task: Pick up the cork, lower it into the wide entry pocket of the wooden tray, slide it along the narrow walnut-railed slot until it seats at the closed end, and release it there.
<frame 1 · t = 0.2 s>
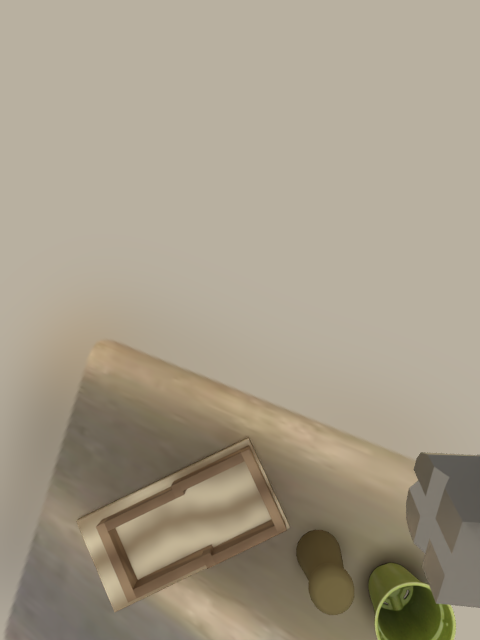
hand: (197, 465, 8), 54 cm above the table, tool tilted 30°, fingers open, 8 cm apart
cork: (318, 551, 60), on the table
plant pot: (390, 584, 59), on the table
wooden tray: (183, 521, 60), on the table
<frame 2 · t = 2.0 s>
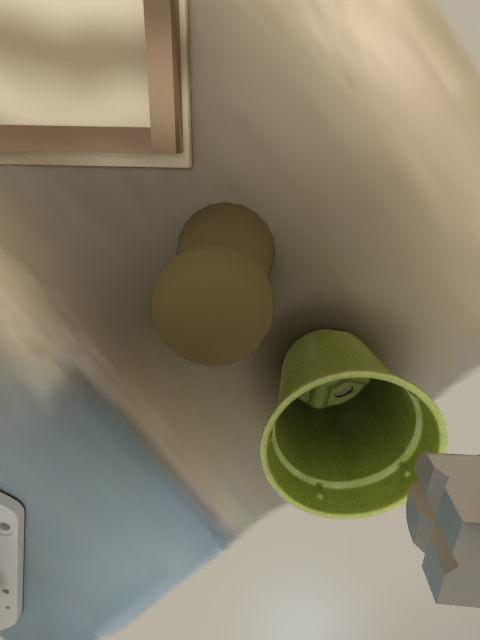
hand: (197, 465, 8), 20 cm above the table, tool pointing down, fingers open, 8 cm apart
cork: (226, 251, 27), on the table
plant pot: (326, 366, 30), on the table
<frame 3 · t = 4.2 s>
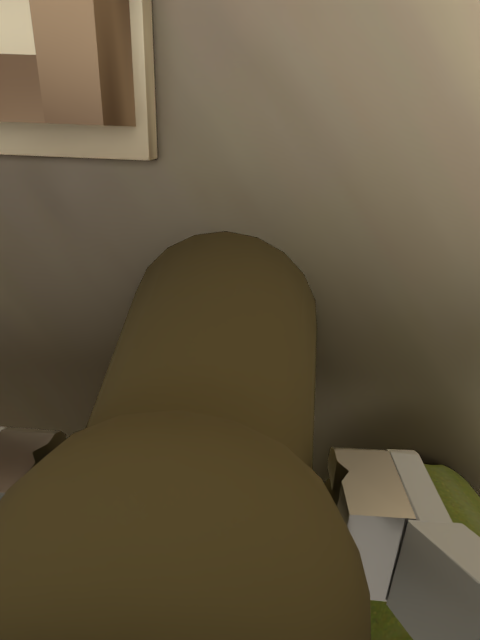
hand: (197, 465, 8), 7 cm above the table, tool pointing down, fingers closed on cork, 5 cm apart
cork: (224, 320, 14), on the table, touching gripper
plant pot: (394, 511, 18), on the table
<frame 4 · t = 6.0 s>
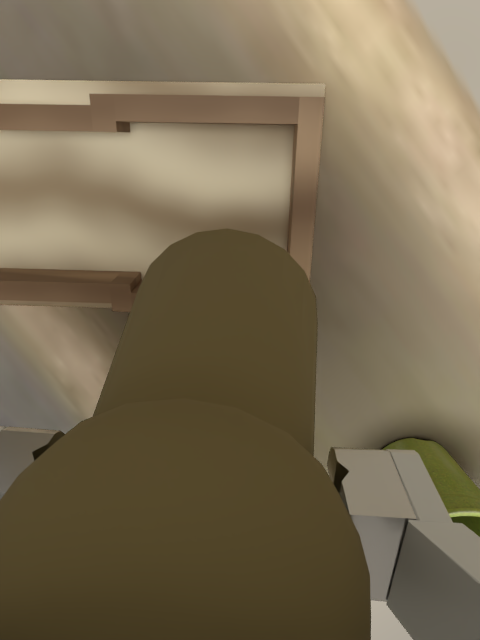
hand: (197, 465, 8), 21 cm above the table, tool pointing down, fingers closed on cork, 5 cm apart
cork: (226, 317, 15), point 14 cm above the table, touching gripper
plant pot: (409, 466, 34), on the table
wooden tray: (99, 202, 27), on the table
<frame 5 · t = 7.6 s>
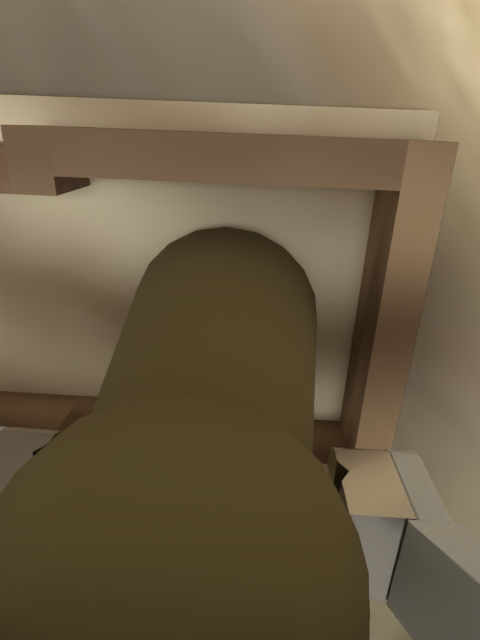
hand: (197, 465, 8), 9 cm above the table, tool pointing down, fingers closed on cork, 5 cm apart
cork: (225, 315, 15), point 2 cm above the table, touching gripper
wooden tray: (45, 289, 17), on the table
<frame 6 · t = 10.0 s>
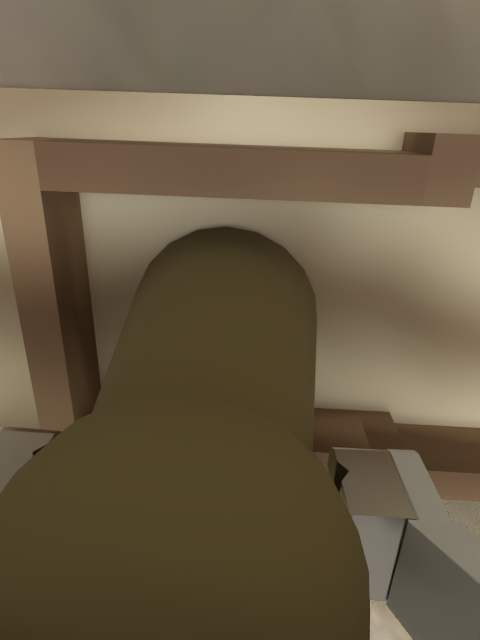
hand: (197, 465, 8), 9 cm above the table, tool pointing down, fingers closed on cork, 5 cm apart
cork: (225, 315, 15), point 2 cm above the table, touching gripper
wooden tray: (331, 300, 16), on the table
when the fingers open (8 cm above the table, at t = 11.4 s): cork stays where it is, resting on wooden tray.
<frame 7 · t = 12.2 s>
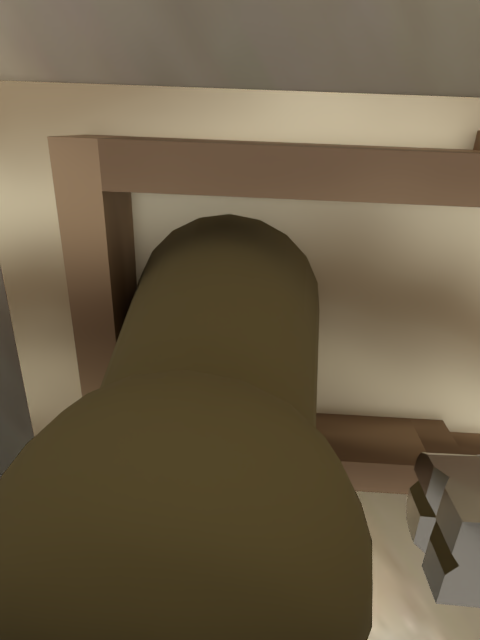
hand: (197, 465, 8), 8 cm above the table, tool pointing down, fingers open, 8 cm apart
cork: (228, 303, 15), point 1 cm above the table, touching wooden tray
wooden tray: (385, 305, 15), on the table
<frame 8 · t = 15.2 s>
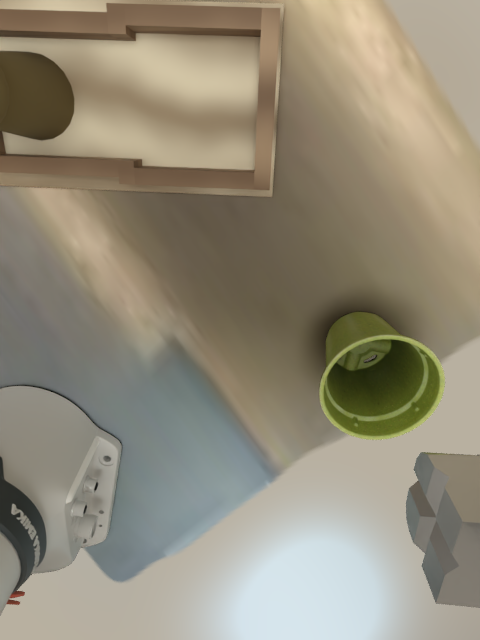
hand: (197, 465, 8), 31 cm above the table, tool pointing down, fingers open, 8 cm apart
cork: (36, 97, 33), point 1 cm above the table, touching wooden tray
plant pot: (358, 339, 41), on the table
wooden tray: (110, 102, 34), on the table
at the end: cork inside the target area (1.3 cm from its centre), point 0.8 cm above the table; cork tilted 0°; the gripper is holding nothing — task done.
